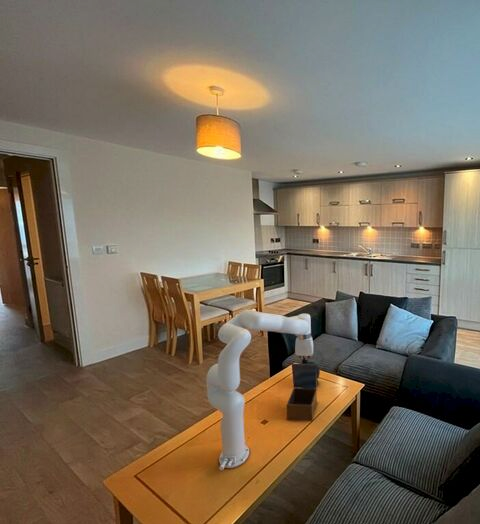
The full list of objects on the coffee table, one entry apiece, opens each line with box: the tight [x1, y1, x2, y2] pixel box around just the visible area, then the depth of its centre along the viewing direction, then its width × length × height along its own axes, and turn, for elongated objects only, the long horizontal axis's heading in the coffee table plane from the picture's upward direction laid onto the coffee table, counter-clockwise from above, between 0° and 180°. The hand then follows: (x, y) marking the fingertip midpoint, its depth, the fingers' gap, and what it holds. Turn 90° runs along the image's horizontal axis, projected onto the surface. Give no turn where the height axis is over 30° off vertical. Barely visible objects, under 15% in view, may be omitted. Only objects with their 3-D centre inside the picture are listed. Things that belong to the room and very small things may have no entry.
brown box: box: [286, 387, 318, 422], centre depth 160 cm, size 16×14×9 cm
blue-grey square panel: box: [291, 363, 318, 389], centre depth 164 cm, size 16×14×1 cm
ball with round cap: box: [308, 361, 321, 389], centre depth 185 cm, size 13×13×15 cm
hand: (304, 365), depth 165 cm, fingers closed
